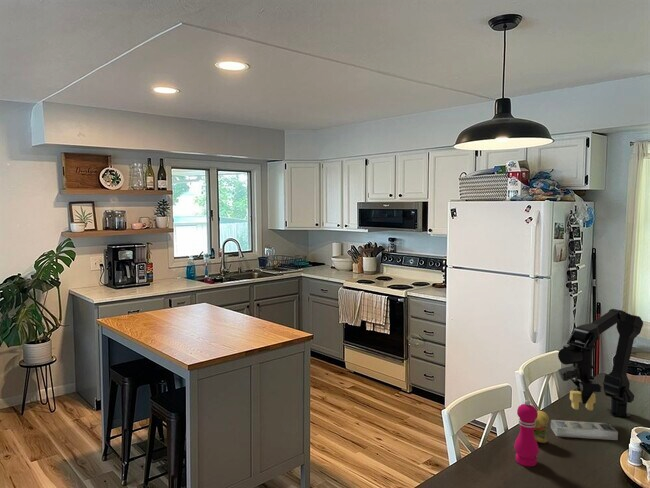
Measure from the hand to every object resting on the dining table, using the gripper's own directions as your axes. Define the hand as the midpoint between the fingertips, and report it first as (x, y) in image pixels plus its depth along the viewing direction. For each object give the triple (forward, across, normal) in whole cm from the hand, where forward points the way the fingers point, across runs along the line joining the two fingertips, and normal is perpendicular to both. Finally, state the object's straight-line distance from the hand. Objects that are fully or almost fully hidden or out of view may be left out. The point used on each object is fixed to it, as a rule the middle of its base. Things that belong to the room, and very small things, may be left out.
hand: (582, 402), depth 185 cm
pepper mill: (+8, +34, -28) cm, 45 cm away
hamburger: (+8, +19, -21) cm, 29 cm away
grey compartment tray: (+8, +10, -3) cm, 13 cm away
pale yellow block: (+2, 0, 0) cm, 2 cm away
